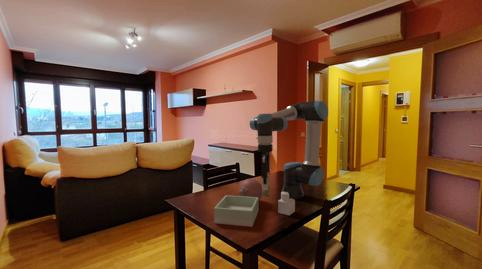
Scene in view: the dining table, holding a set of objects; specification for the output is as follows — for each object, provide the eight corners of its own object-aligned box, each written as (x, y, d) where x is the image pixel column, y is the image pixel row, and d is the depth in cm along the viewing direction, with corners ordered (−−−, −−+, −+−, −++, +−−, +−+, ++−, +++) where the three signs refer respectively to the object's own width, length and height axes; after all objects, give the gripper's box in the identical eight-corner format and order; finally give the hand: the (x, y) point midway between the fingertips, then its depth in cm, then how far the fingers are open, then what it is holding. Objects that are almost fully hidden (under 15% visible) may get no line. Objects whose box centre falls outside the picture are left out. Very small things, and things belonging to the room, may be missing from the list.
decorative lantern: (228, 205, 142) (228, 181, 140) (249, 196, 156) (249, 174, 155) (247, 211, 131) (246, 185, 130) (267, 201, 146) (267, 178, 145)
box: (258, 210, 132) (258, 197, 131) (252, 226, 113) (252, 211, 112) (225, 208, 137) (225, 195, 136) (214, 223, 117) (214, 208, 117)
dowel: (270, 194, 119) (269, 172, 118) (269, 197, 115) (269, 174, 114) (262, 194, 120) (262, 171, 119) (261, 196, 116) (261, 173, 115)
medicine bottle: (283, 208, 134) (283, 189, 133) (295, 211, 130) (294, 191, 129) (277, 212, 129) (277, 192, 128) (289, 216, 124) (289, 194, 123)
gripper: (260, 141, 124) (261, 183, 126) (254, 145, 108) (256, 193, 110) (274, 141, 122) (274, 184, 124) (270, 146, 106) (271, 194, 108)
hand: (265, 188), depth 117 cm, fingers closed on dowel, 4 cm apart
